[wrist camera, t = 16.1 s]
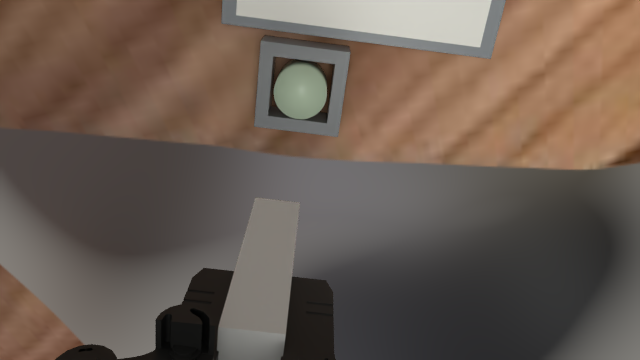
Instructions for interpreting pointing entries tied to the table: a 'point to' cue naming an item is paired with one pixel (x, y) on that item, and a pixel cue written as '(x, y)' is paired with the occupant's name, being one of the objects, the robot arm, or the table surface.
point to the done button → (301, 89)
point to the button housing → (310, 52)
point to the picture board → (380, 21)
